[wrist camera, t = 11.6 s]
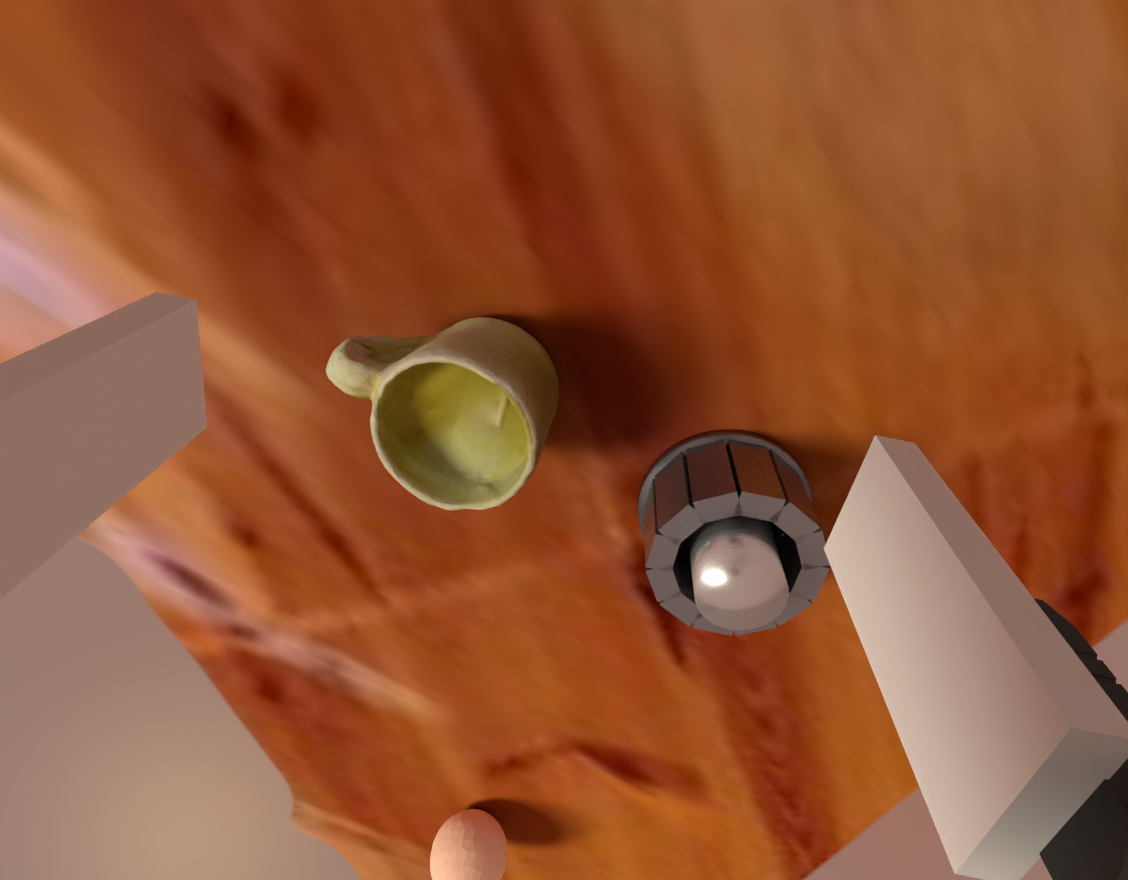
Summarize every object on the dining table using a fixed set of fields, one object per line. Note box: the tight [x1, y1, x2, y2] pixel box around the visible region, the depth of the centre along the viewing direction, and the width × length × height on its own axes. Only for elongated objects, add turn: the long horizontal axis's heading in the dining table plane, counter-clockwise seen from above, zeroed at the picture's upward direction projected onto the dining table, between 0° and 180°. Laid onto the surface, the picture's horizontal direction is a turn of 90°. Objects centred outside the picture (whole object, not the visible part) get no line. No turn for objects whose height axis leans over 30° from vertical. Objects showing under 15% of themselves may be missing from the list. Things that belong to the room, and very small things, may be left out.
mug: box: [326, 317, 559, 511], centre depth 39 cm, size 12×10×10 cm
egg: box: [430, 809, 507, 880], centre depth 60 cm, size 7×7×8 cm
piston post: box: [638, 430, 812, 630], centre depth 41 cm, size 11×11×9 cm
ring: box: [644, 439, 830, 636], centre depth 42 cm, size 10×10×6 cm
